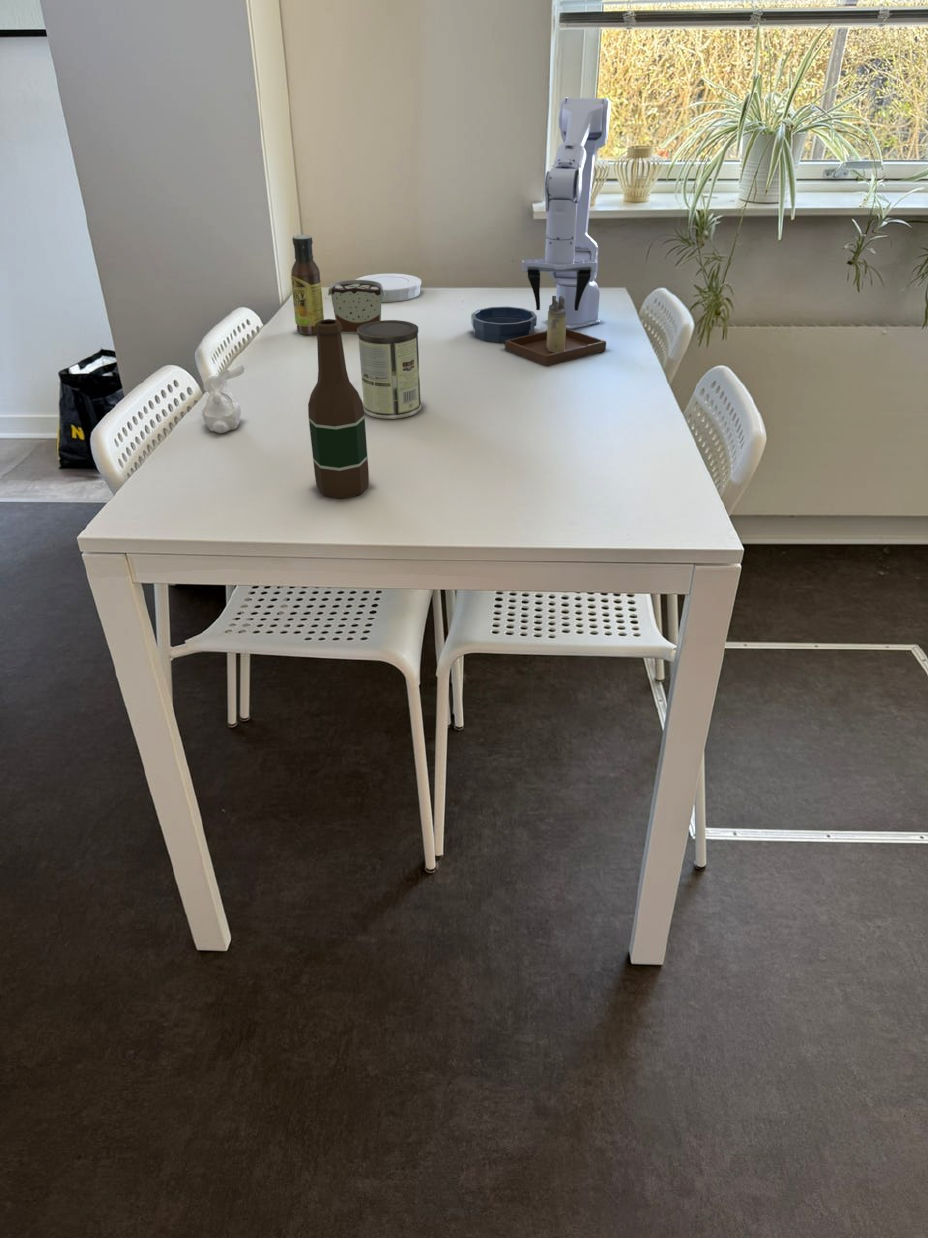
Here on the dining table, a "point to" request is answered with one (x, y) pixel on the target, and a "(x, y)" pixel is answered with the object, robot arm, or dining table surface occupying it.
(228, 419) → the rabbit figurine
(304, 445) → the dining table surface
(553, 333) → the beige tall upright piece
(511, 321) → the bowl
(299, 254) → the sauce bottle
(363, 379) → the coffee can
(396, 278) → the lid
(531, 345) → the tray
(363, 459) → the beer bottle
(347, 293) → the food container
